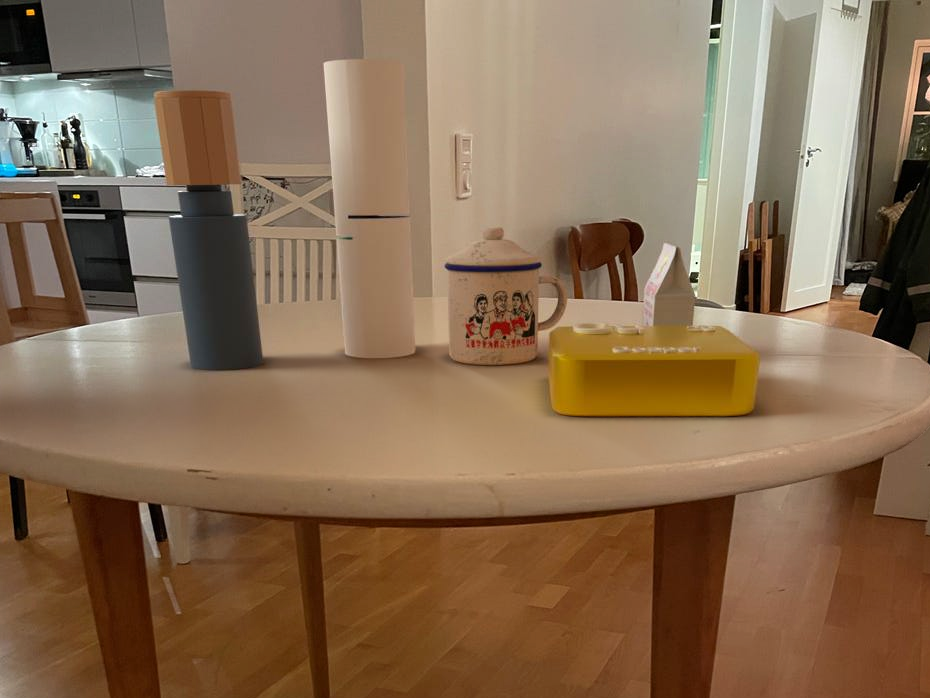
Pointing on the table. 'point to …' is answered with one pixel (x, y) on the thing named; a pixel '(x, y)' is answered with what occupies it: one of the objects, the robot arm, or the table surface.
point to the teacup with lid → (496, 302)
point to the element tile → (650, 371)
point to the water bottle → (216, 280)
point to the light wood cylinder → (197, 137)
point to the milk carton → (668, 292)
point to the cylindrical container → (371, 205)
